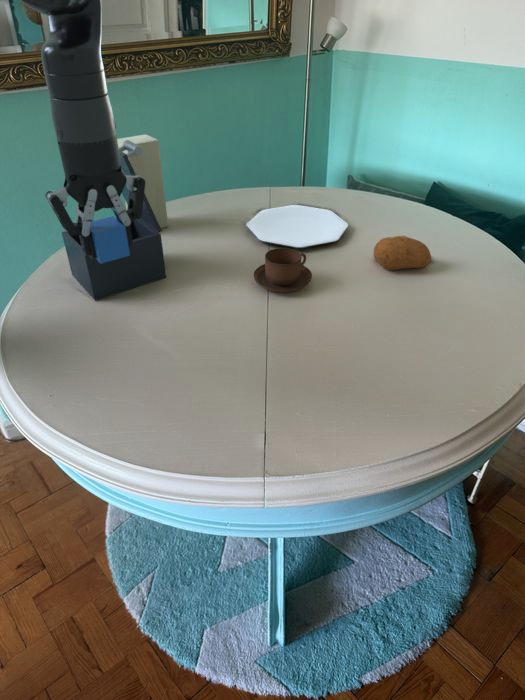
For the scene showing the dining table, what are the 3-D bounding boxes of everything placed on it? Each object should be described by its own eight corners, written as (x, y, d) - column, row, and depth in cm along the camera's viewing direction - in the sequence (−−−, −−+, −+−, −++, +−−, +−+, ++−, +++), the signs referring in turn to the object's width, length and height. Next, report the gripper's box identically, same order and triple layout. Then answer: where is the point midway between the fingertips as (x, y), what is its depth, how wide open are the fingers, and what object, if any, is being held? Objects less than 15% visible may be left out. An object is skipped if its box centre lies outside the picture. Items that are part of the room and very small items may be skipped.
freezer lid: (122, 156, 92) (147, 142, 93) (95, 140, 100) (118, 127, 101) (158, 232, 103) (180, 219, 105) (131, 212, 112) (151, 200, 113)
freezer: (95, 300, 102) (84, 255, 96) (72, 275, 111) (61, 232, 105) (166, 277, 110) (160, 234, 104) (140, 255, 118) (133, 213, 112)
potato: (366, 262, 115) (372, 230, 112) (421, 263, 117) (428, 233, 114) (376, 273, 109) (382, 240, 106) (433, 275, 111) (441, 243, 107)
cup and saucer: (273, 263, 115) (273, 238, 111) (321, 278, 109) (323, 251, 106) (242, 286, 107) (241, 259, 103) (292, 303, 101) (293, 276, 98)
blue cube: (100, 263, 75) (94, 234, 72) (89, 252, 78) (82, 223, 75) (130, 255, 77) (125, 226, 74) (117, 244, 80) (112, 216, 77)
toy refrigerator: (155, 217, 135) (144, 132, 123) (169, 226, 131) (159, 139, 118) (127, 224, 132) (113, 138, 119) (140, 234, 127) (126, 145, 114)
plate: (362, 241, 124) (363, 235, 123) (271, 258, 117) (271, 252, 116) (318, 206, 141) (318, 200, 140) (236, 219, 134) (236, 213, 133)
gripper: (126, 118, 73) (142, 232, 83) (21, 134, 66) (53, 255, 77) (149, 130, 68) (163, 249, 78) (38, 148, 61) (70, 275, 72)
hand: (108, 251), depth 77 cm, fingers closed on blue cube, 4 cm apart
